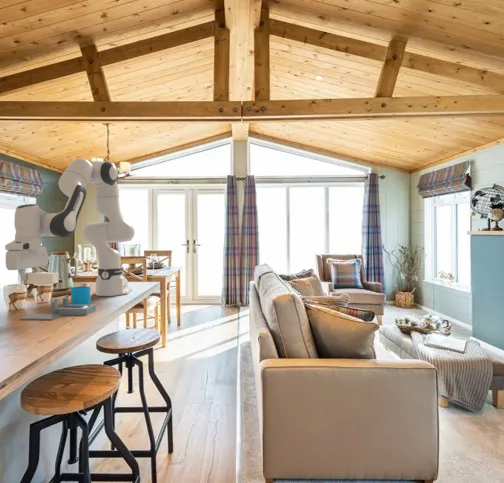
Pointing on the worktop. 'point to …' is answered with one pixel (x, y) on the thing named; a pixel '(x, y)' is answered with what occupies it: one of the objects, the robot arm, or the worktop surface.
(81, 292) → the mug
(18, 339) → the worktop surface
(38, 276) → the beige rectangular block
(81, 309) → the dispenser
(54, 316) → the pad
